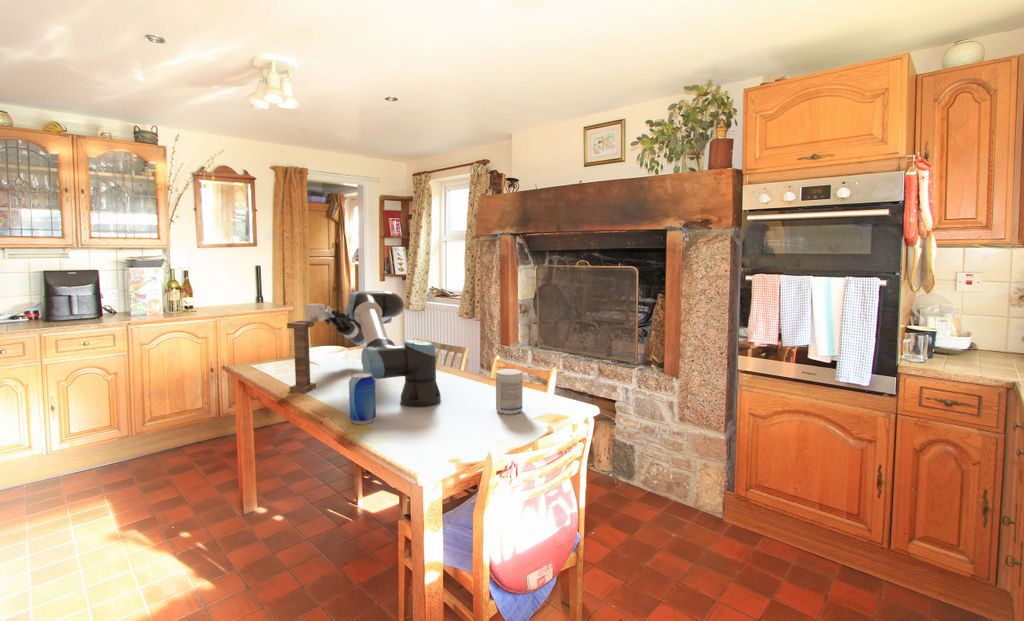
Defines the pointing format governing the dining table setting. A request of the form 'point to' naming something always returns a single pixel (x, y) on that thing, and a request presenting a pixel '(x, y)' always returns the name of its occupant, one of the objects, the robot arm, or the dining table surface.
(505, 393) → the supplement tub
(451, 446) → the dining table surface
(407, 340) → the robot arm
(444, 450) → the dining table surface
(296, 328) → the walnut stand
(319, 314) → the grey block
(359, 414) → the beer can
